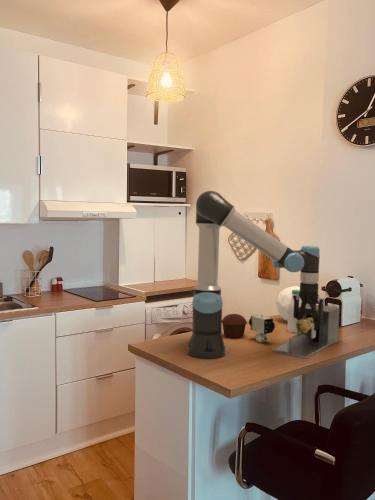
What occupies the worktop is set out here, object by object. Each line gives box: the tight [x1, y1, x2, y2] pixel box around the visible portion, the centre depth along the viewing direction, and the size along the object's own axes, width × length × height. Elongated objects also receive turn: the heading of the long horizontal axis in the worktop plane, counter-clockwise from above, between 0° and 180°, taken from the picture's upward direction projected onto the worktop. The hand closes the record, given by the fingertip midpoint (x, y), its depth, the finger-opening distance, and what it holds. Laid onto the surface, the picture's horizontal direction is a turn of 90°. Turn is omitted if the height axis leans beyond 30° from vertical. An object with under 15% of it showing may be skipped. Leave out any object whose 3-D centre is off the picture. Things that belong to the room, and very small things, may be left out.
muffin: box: [222, 313, 248, 340], centre depth 203 cm, size 12×11×10 cm
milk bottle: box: [286, 290, 302, 334], centre depth 213 cm, size 8×8×20 cm
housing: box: [272, 304, 340, 359], centre depth 188 cm, size 14×34×15 cm, turn 141°
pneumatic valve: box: [248, 313, 276, 344], centre depth 194 cm, size 6×12×12 cm, turn 35°
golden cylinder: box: [296, 316, 319, 333], centre depth 190 cm, size 6×15×6 cm, turn 141°
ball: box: [275, 285, 300, 322], centre depth 232 cm, size 19×20×20 cm
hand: (307, 336), depth 188 cm, fingers closed on golden cylinder, 5 cm apart
